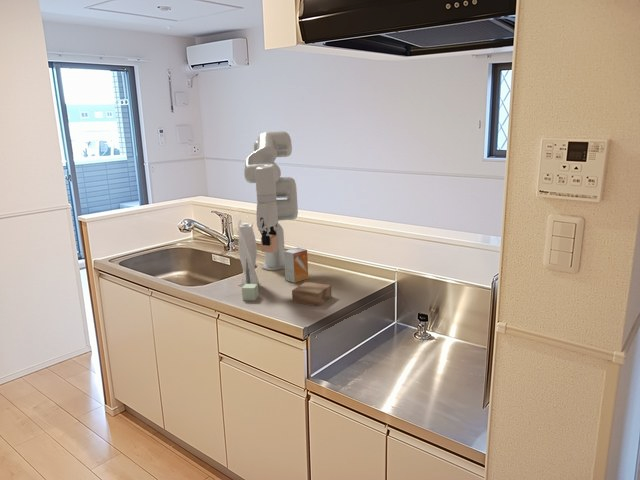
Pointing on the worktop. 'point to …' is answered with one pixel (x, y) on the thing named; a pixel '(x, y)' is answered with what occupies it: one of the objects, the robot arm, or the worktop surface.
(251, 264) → the skyscraper
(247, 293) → the sage cube
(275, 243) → the terracotta block
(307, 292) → the walnut block
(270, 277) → the worktop surface
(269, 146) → the robot arm
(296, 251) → the small box
